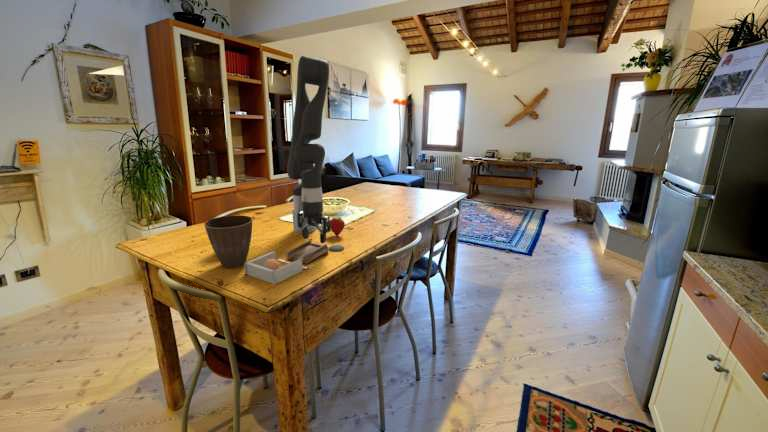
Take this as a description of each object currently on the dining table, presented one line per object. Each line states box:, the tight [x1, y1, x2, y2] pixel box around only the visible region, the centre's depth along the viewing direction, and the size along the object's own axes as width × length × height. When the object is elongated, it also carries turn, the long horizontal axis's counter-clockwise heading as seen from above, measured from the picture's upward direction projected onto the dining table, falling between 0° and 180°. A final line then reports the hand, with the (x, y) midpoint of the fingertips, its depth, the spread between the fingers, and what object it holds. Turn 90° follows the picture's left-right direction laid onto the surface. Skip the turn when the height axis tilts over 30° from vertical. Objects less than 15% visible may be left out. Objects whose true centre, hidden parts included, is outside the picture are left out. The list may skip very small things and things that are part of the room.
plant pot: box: [204, 214, 253, 269], centre depth 117 cm, size 15×15×16 cm
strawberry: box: [330, 214, 346, 236], centre depth 149 cm, size 6×8×10 cm
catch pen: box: [243, 251, 304, 285], centre depth 112 cm, size 14×12×4 cm
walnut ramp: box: [285, 239, 329, 265], centre depth 126 cm, size 10×12×4 cm
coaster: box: [328, 244, 345, 253], centre depth 134 cm, size 6×6×1 cm
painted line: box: [277, 258, 309, 270], centre depth 120 cm, size 14×1×1 cm, turn 59°
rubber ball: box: [264, 259, 280, 270], centre depth 112 cm, size 5×5×5 cm
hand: (314, 240), depth 128 cm, fingers open, 8 cm apart
